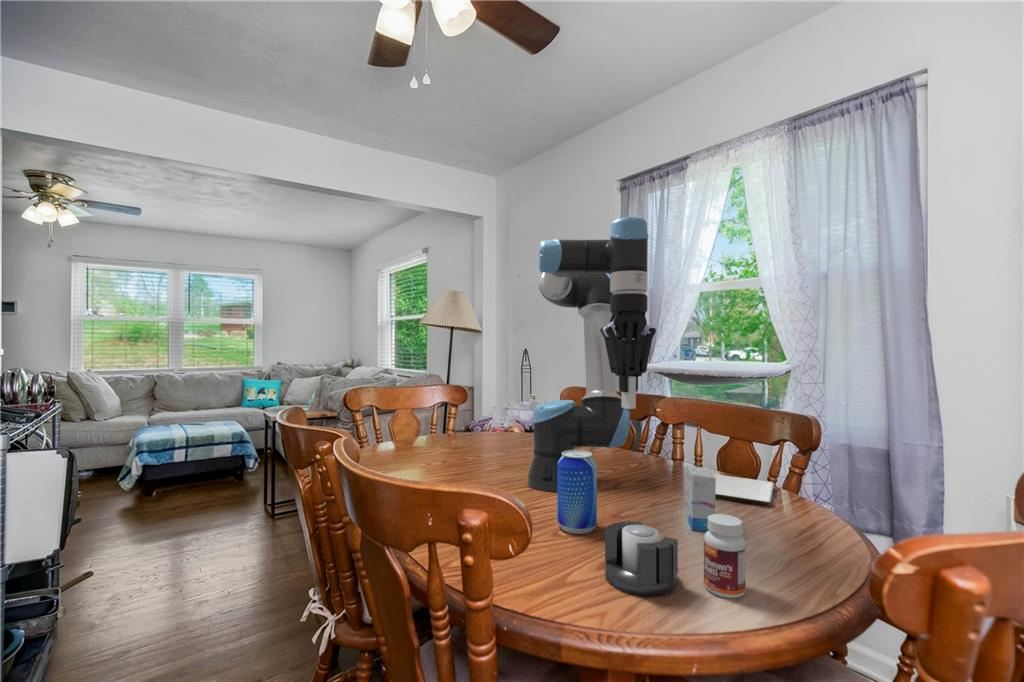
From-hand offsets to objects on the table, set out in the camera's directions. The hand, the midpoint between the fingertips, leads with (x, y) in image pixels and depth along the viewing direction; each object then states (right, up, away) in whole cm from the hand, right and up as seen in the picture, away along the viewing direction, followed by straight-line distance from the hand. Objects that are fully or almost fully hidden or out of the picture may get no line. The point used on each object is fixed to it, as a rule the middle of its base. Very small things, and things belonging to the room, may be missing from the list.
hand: (628, 407), depth 98 cm
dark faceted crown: (-2, -26, -18) cm, 32 cm away
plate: (+35, -27, +29) cm, 53 cm away
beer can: (-10, -27, +4) cm, 29 cm away
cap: (-2, -24, -18) cm, 30 cm away
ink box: (+17, -27, +6) cm, 32 cm away
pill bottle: (+10, -27, -22) cm, 36 cm away
